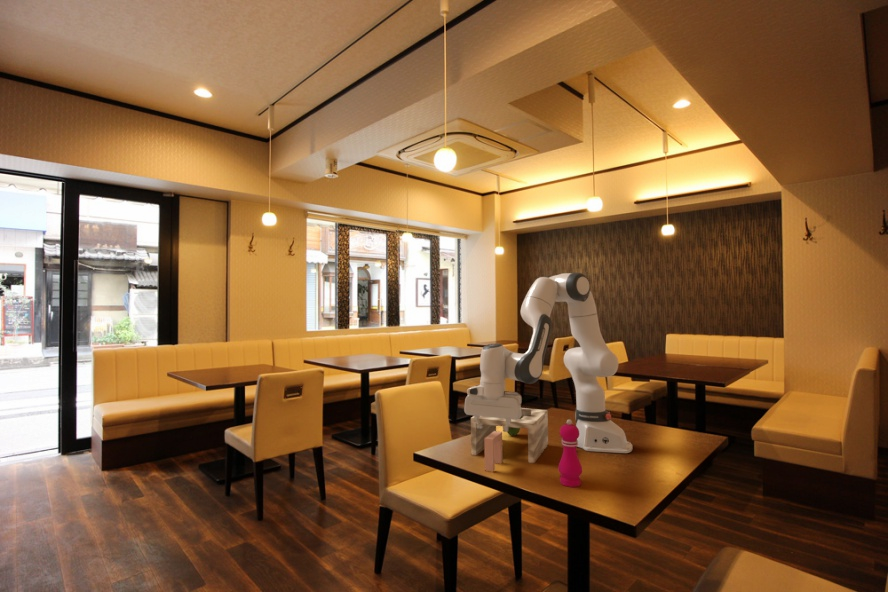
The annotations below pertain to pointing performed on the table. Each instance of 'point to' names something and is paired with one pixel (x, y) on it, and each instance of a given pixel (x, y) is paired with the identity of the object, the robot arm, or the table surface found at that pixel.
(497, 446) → the u piece
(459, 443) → the table surface
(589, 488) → the table surface
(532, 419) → the shelf
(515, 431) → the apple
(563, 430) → the pepper mill
